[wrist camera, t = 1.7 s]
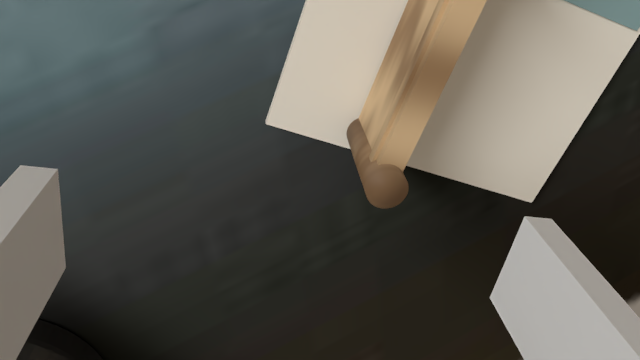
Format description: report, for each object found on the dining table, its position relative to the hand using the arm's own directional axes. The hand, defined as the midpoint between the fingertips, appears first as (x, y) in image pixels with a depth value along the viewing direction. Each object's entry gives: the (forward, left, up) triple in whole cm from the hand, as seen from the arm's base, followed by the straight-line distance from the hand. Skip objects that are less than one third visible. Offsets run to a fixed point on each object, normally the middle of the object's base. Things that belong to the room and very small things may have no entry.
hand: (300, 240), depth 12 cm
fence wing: (+3, -7, -19) cm, 20 cm away
